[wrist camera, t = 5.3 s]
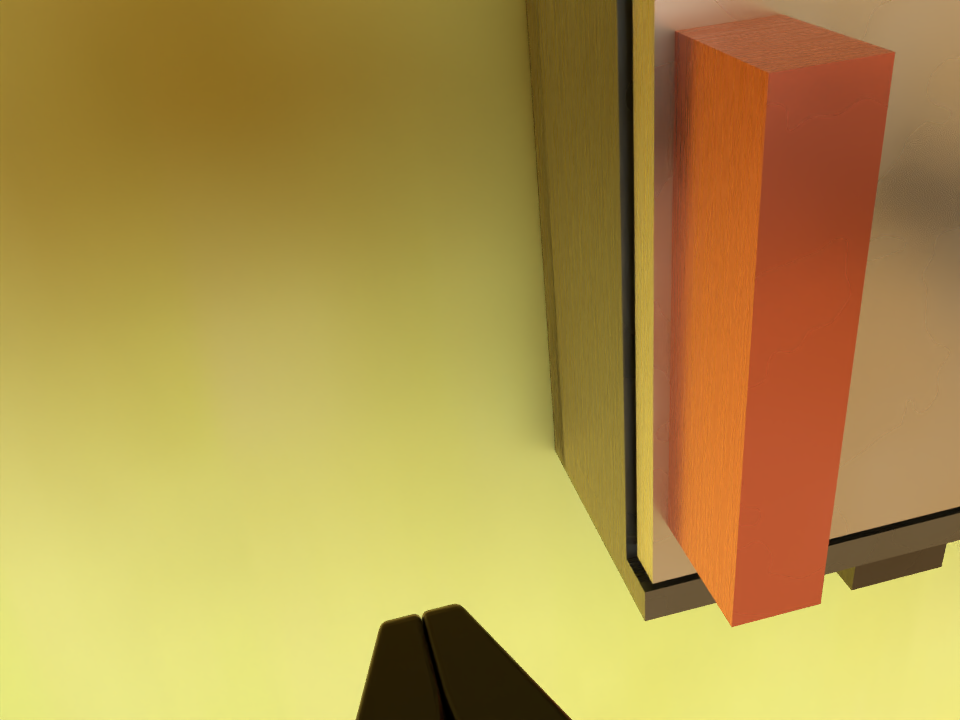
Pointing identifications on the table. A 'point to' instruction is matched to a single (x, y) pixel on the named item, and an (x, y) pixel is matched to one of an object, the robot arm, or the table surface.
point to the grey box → (629, 302)
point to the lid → (792, 284)
